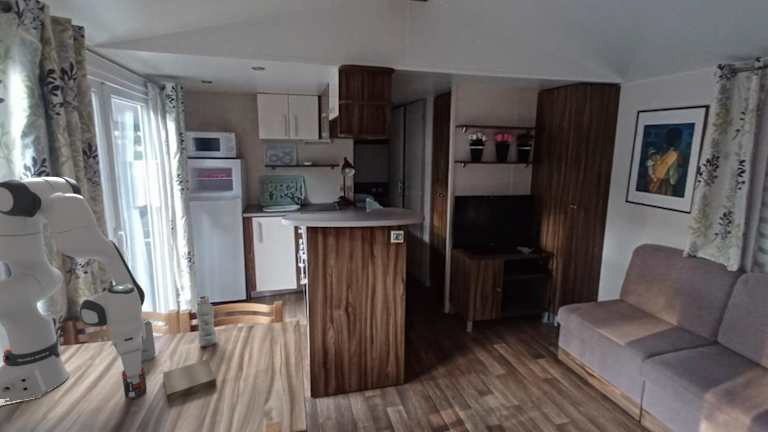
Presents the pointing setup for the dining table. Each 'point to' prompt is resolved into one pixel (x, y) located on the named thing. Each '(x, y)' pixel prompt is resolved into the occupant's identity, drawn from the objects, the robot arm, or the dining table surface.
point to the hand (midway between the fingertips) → (135, 374)
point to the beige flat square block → (188, 380)
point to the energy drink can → (148, 342)
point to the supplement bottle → (134, 385)
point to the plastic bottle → (206, 322)
